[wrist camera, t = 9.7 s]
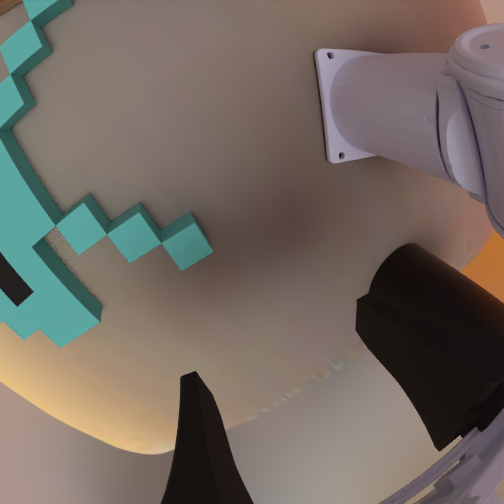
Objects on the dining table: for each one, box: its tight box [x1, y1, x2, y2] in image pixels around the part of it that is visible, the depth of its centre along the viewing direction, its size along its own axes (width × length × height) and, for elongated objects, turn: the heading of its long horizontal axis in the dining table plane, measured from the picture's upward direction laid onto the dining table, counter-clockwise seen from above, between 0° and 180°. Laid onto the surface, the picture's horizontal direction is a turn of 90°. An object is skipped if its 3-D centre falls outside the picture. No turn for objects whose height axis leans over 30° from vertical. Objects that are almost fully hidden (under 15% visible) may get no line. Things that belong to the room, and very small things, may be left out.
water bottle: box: [369, 244, 504, 338], centre depth 18 cm, size 10×10×23 cm
